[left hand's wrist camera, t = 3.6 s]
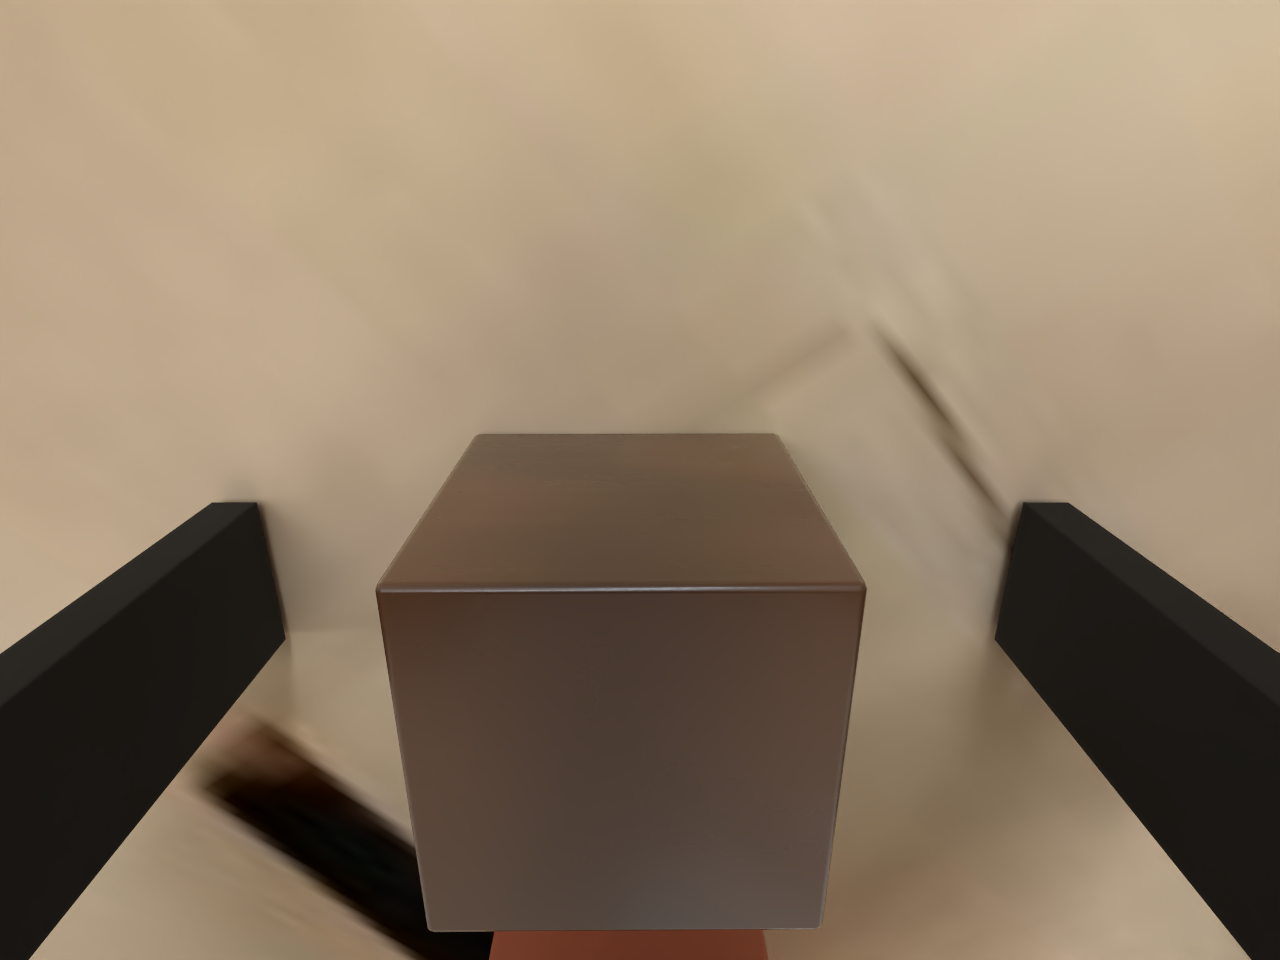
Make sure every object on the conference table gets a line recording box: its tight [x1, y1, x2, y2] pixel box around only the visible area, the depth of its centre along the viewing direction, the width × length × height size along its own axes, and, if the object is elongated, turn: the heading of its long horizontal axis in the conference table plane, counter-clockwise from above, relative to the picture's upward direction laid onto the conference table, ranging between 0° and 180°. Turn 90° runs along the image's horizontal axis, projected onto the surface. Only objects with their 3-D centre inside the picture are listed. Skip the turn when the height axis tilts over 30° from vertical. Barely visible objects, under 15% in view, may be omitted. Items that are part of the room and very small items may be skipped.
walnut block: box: [376, 434, 867, 932], centre depth 10 cm, size 5×5×5 cm
